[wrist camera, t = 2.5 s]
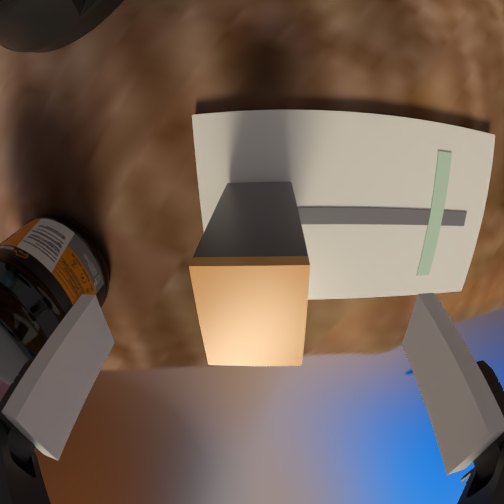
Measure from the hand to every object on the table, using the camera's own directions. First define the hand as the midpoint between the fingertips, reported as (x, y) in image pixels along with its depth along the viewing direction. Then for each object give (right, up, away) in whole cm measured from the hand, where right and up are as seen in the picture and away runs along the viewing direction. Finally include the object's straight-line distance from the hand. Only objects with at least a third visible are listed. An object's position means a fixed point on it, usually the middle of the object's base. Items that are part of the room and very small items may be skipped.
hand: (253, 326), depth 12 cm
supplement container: (-17, +2, +13) cm, 22 cm away
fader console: (+8, +6, +9) cm, 13 cm away
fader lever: (+1, +5, +8) cm, 10 cm away
